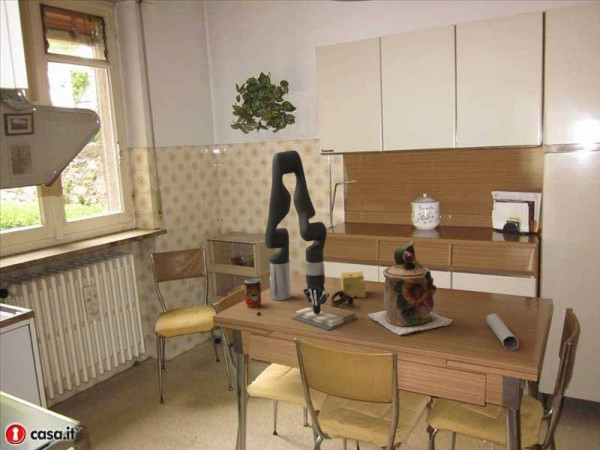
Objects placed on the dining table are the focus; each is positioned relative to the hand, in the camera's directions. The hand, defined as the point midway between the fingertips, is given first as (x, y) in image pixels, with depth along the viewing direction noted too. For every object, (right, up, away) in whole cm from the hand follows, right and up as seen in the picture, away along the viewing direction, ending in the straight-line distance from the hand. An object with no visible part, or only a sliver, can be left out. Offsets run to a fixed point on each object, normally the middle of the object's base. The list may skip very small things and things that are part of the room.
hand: (317, 313), depth 202 cm
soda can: (-28, -1, +25) cm, 37 cm away
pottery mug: (+12, 0, +18) cm, 22 cm away
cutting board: (+3, -3, +3) cm, 5 cm away
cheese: (+18, +3, +34) cm, 39 cm away
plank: (+1, -2, +1) cm, 3 cm away
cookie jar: (+36, -3, -4) cm, 37 cm away
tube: (+65, -4, -23) cm, 69 cm away
